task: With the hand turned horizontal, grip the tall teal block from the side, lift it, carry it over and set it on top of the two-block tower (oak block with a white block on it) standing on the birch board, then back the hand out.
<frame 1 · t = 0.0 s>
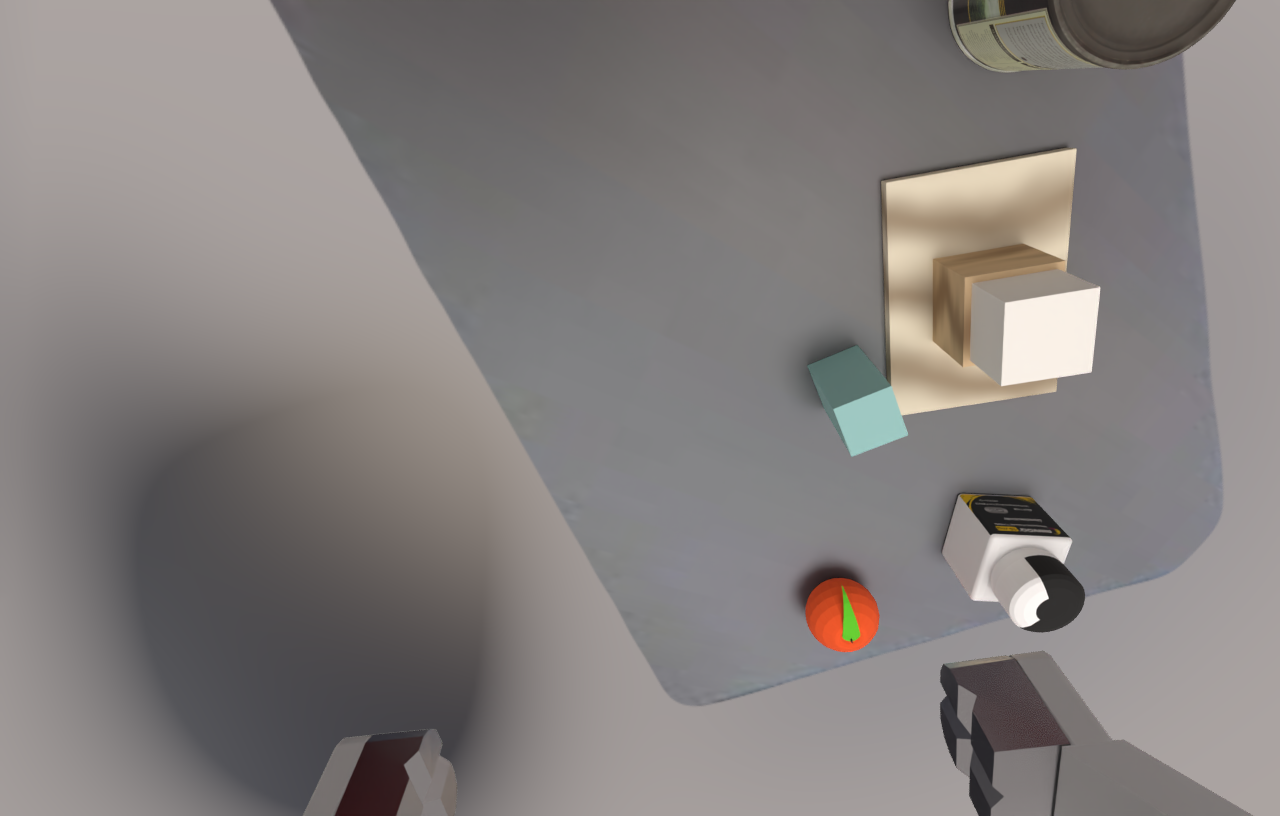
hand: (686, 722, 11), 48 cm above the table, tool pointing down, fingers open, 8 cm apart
medicine bottle: (984, 523, 67), on the table
oak block: (976, 293, 56), point 1 cm above the table, touching birch board, white block
teal block: (840, 377, 60), on the table
birch board: (970, 290, 57), on the table
clementine: (832, 585, 70), on the table
white block: (1012, 315, 50), point 7 cm above the table, touching oak block
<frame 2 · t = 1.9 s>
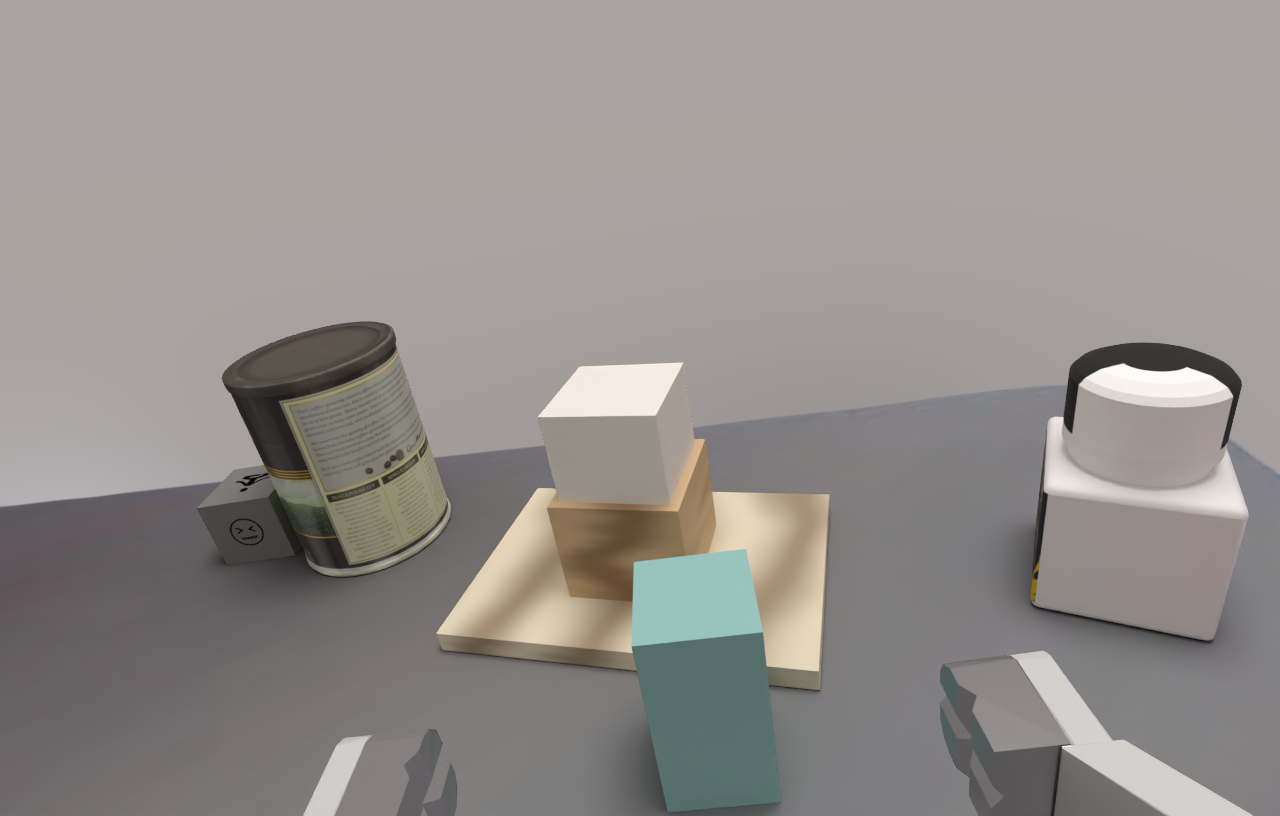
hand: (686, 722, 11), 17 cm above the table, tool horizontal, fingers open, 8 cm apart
medicine bottle: (1113, 580, 35), on the table
oak block: (646, 559, 40), point 1 cm above the table, touching birch board, white block
teal block: (718, 756, 29), on the table
birch board: (649, 575, 40), on the table
coffee can: (382, 533, 50), on the table
white block: (629, 471, 37), point 7 cm above the table, touching oak block
dice cube: (278, 542, 51), on the table
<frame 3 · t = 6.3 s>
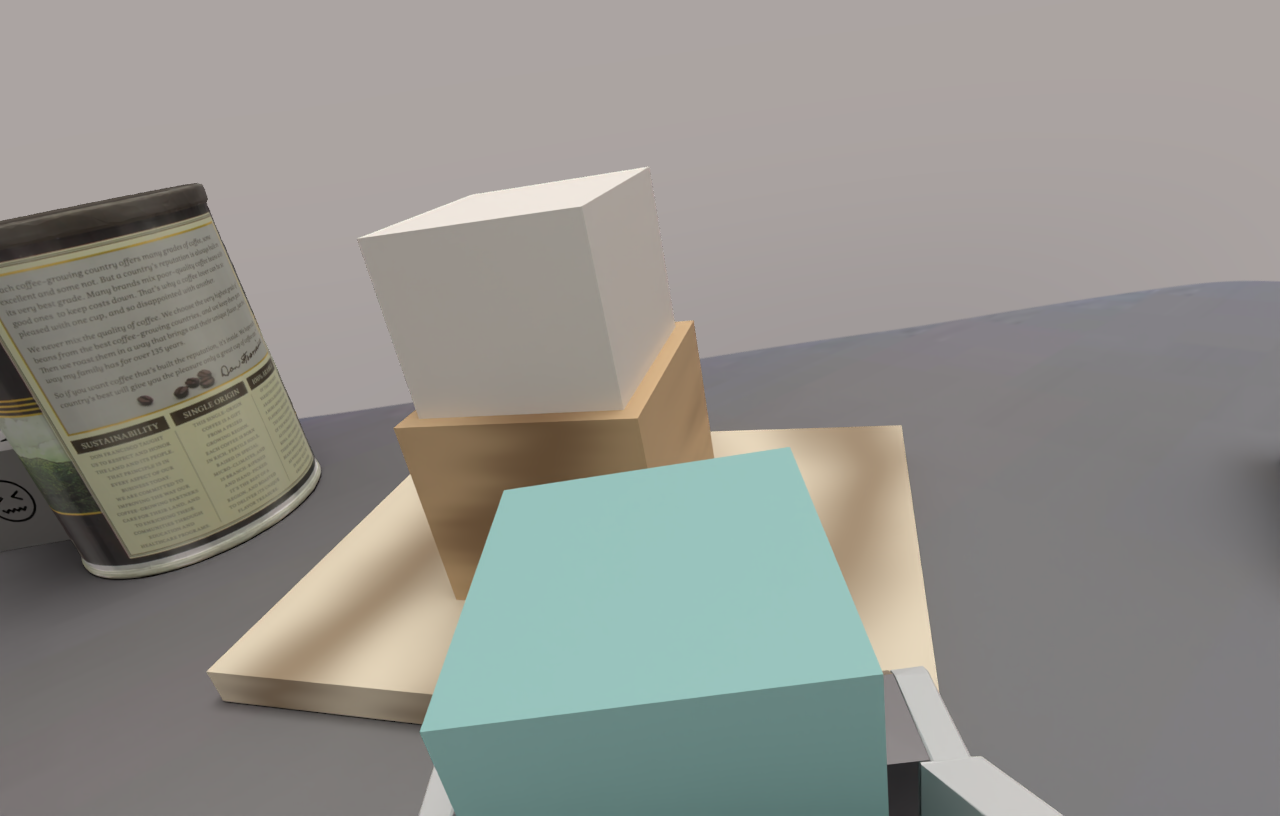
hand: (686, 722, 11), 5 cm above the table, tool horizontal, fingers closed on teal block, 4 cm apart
oak block: (597, 533, 23), point 1 cm above the table, touching birch board, white block
birch board: (604, 561, 24), on the table
coffee can: (213, 513, 33), on the table
white block: (557, 369, 21), point 7 cm above the table, touching oak block
dice cube: (78, 520, 35), on the table
when the fingers open (18 cm above the table, at t = 10.1 s): teal block drops 1 cm, resting on white block.
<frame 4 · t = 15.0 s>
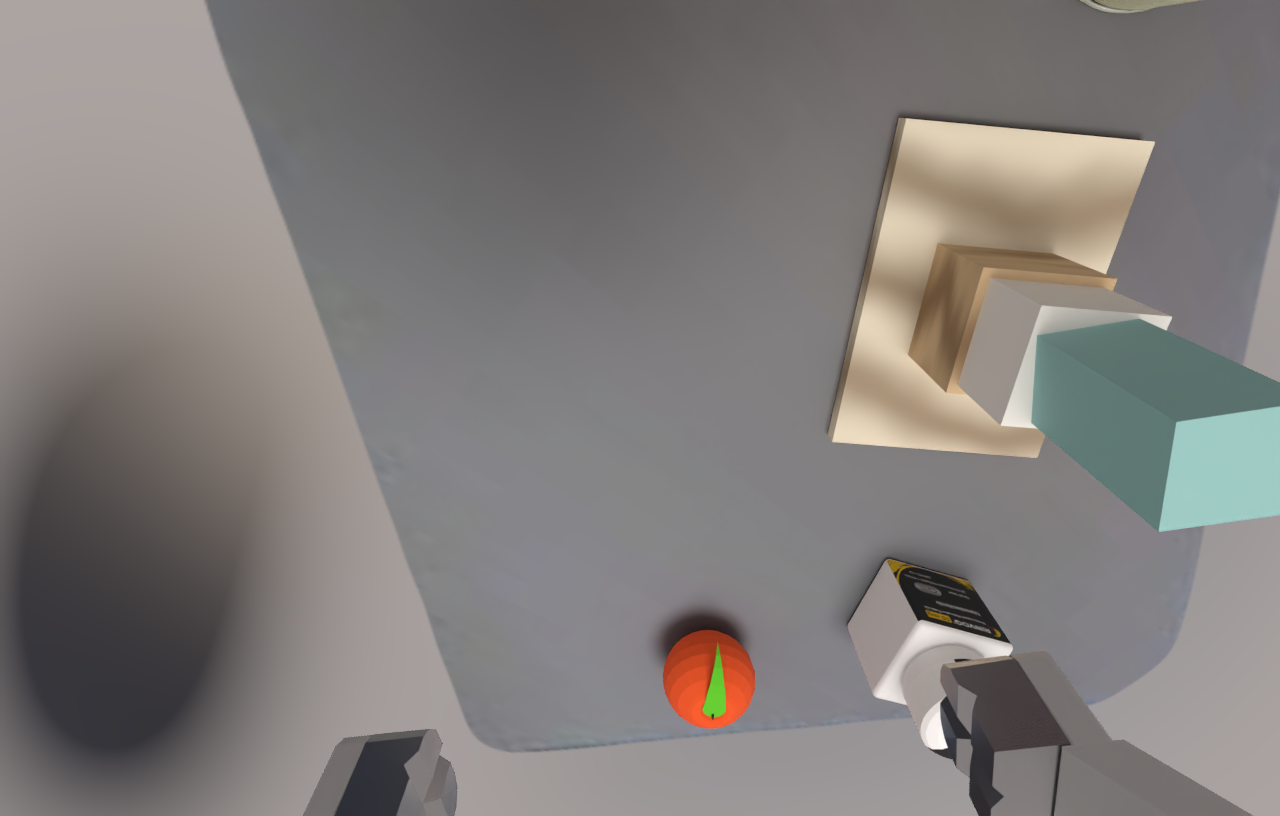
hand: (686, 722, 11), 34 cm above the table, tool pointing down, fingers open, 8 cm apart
medicine bottle: (905, 601, 53), on the table
oak block: (978, 305, 42), point 1 cm above the table, touching birch board, white block
teal block: (1083, 372, 32), point 12 cm above the table, touching white block
birch board: (970, 300, 43), on the table
clementine: (705, 637, 55), on the table
white block: (1028, 338, 37), point 7 cm above the table, touching oak block, teal block
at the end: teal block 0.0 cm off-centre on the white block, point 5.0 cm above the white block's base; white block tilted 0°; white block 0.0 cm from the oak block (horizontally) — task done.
